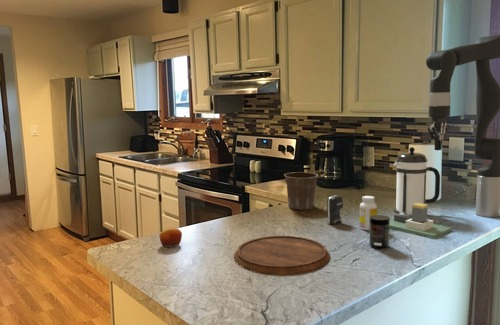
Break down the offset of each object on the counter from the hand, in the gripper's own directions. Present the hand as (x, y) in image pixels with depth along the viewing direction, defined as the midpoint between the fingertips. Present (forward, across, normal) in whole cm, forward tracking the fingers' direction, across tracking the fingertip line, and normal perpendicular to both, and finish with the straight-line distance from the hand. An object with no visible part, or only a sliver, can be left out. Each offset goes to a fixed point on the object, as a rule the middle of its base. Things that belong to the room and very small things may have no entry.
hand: (438, 150), depth 164 cm
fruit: (+31, +87, -55) cm, 108 cm away
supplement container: (+31, +34, -3) cm, 46 cm away
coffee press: (+31, -13, -17) cm, 38 cm away
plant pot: (+31, +12, -61) cm, 69 cm away
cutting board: (+32, +65, -20) cm, 75 cm away
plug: (+30, +7, -3) cm, 31 cm away
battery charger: (+31, +22, -32) cm, 50 cm away
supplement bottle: (+31, +19, -18) cm, 41 cm away
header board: (+31, +6, -5) cm, 32 cm away
